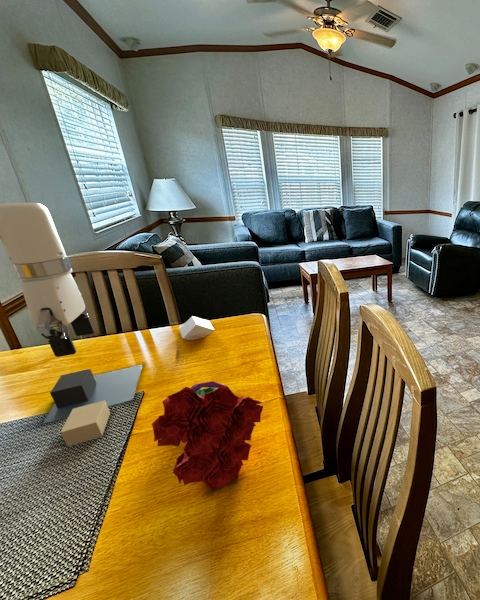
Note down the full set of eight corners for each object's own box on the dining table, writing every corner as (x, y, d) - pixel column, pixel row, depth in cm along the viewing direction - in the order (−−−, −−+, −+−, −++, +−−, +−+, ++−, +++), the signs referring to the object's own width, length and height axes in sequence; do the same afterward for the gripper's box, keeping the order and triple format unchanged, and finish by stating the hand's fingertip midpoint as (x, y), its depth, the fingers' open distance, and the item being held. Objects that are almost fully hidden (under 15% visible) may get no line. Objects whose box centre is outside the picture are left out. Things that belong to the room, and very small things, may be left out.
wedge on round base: (216, 338, 109) (208, 325, 118) (212, 320, 106) (204, 308, 116) (185, 347, 104) (179, 332, 113) (180, 328, 101) (174, 315, 111)
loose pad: (68, 449, 66) (60, 432, 64) (80, 424, 72) (72, 408, 71) (103, 439, 68) (96, 422, 67) (111, 416, 75) (105, 400, 73)
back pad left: (57, 408, 76) (49, 392, 74) (68, 390, 82) (61, 375, 81) (88, 400, 78) (81, 385, 77) (96, 383, 85) (90, 368, 83)
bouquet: (234, 411, 85) (280, 460, 63) (158, 446, 75) (181, 519, 52) (213, 341, 81) (254, 367, 59) (130, 367, 70) (141, 410, 48)
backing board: (43, 427, 72) (41, 424, 71) (69, 384, 86) (68, 381, 86) (134, 403, 79) (132, 399, 79) (143, 367, 94) (142, 364, 93)
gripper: (41, 260, 70) (71, 330, 77) (-11, 283, 56) (31, 368, 62) (86, 256, 73) (111, 324, 80) (47, 278, 58) (82, 359, 65)
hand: (76, 344), depth 71 cm, fingers open, 9 cm apart
